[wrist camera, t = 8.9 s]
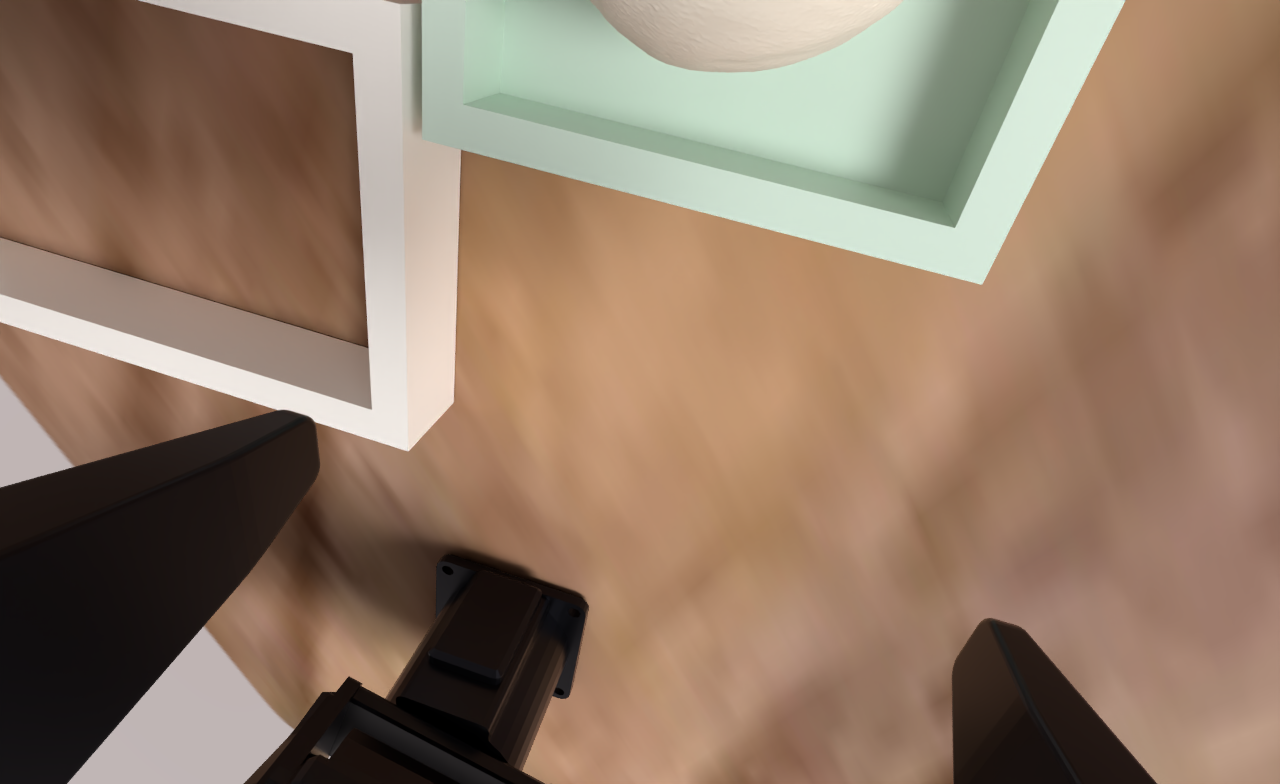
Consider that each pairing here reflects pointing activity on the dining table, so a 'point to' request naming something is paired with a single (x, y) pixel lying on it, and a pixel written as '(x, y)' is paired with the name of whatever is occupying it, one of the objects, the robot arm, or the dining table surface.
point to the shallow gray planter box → (392, 244)
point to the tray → (782, 118)
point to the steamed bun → (740, 29)
